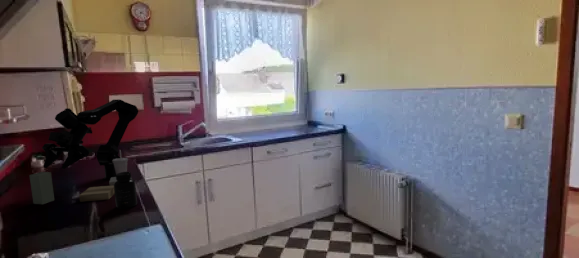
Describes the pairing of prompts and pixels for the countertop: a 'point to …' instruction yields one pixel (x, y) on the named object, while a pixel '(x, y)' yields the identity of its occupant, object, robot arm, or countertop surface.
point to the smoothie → (120, 164)
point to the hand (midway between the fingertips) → (53, 168)
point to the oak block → (97, 193)
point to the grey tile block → (113, 181)
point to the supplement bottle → (125, 191)
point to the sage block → (41, 187)
